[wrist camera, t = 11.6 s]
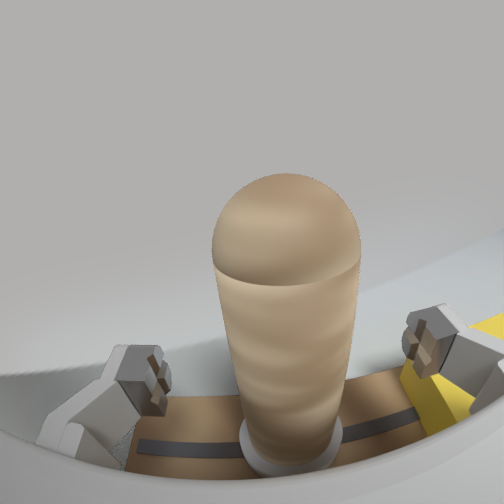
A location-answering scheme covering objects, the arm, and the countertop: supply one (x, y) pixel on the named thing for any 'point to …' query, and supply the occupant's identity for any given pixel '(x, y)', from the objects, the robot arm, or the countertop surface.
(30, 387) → the countertop surface
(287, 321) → the wooden dome-topped peg
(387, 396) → the plywood board
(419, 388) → the block
